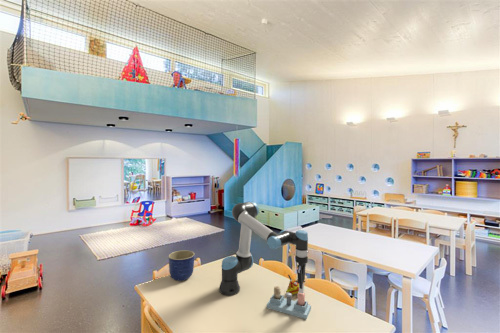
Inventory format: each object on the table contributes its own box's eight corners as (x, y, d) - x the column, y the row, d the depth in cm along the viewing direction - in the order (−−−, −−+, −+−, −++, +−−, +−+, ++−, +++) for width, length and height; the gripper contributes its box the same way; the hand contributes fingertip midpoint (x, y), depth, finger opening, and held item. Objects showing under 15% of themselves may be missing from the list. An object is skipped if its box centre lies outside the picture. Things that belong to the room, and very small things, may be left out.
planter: (162, 279, 199) (162, 256, 198) (182, 270, 216) (182, 248, 216) (180, 286, 188) (180, 261, 188) (199, 276, 205) (199, 253, 205)
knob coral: (296, 305, 156) (296, 294, 156) (298, 302, 160) (298, 291, 160) (303, 307, 154) (303, 296, 154) (305, 304, 158) (305, 293, 158)
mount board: (266, 307, 161) (266, 299, 161) (273, 298, 172) (273, 291, 172) (306, 319, 149) (306, 310, 149) (311, 309, 160) (311, 300, 160)
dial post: (285, 305, 160) (285, 294, 160) (287, 302, 163) (287, 292, 163) (290, 306, 158) (290, 296, 158) (292, 303, 161) (292, 293, 161)
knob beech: (272, 299, 163) (273, 288, 163) (275, 296, 167) (275, 285, 167) (279, 301, 161) (279, 290, 161) (281, 297, 165) (281, 287, 165)
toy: (302, 297, 170) (291, 276, 173) (289, 301, 174) (279, 281, 177) (306, 288, 182) (296, 269, 186) (294, 292, 186) (285, 273, 189)
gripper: (304, 260, 149) (304, 299, 149) (309, 253, 161) (309, 289, 161) (292, 258, 152) (292, 296, 153) (298, 251, 164) (298, 286, 164)
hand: (301, 292), depth 157 cm, fingers closed
